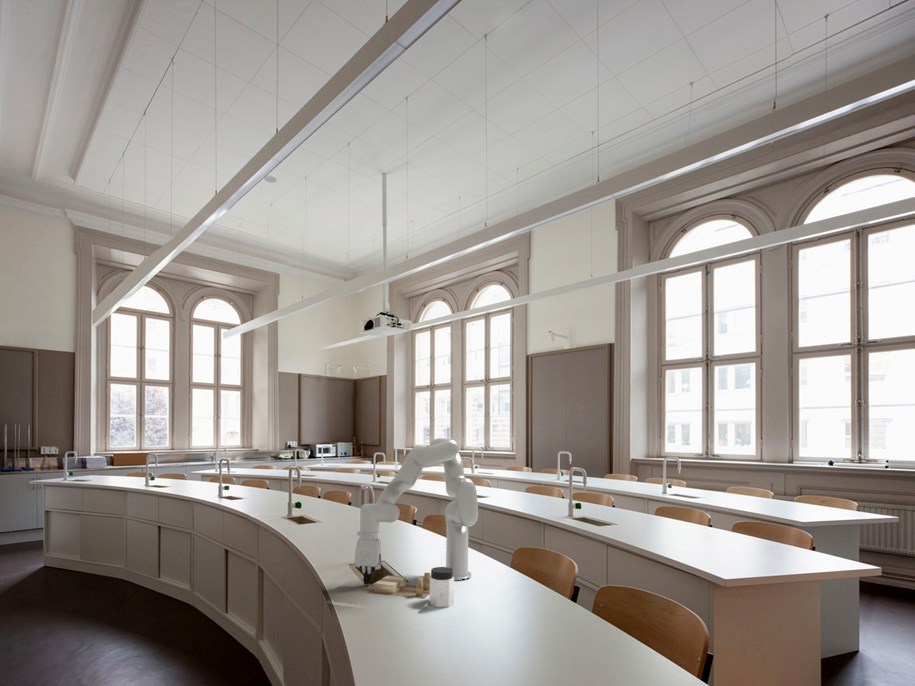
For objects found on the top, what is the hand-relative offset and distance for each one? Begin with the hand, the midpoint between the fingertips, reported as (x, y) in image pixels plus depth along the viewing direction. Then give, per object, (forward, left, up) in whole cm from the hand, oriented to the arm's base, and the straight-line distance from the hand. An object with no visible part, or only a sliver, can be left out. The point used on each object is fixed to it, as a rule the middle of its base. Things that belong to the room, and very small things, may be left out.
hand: (367, 583), depth 219 cm
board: (0, +14, -2) cm, 14 cm away
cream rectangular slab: (0, +10, -1) cm, 10 cm away
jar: (+7, +34, -2) cm, 35 cm away
